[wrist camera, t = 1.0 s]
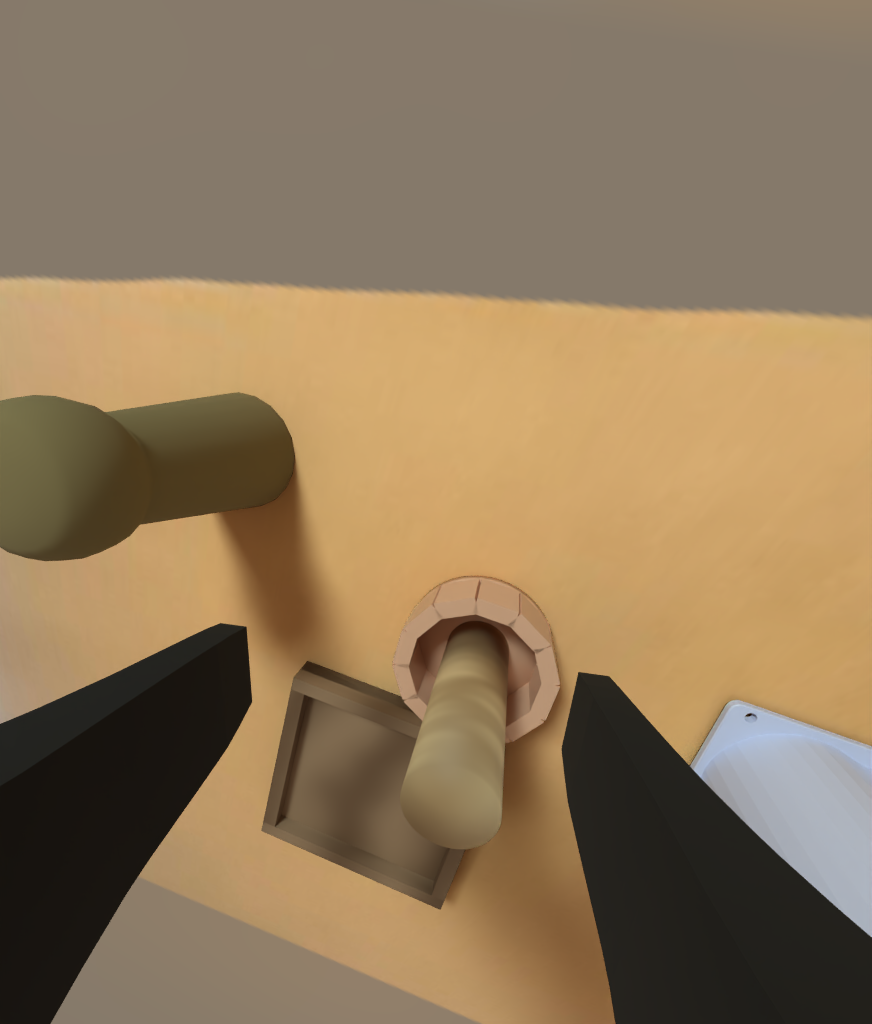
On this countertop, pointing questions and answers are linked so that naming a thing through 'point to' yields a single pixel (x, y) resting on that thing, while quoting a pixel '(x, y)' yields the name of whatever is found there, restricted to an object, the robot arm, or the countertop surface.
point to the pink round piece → (509, 613)
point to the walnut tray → (353, 784)
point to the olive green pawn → (130, 468)
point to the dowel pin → (461, 743)
